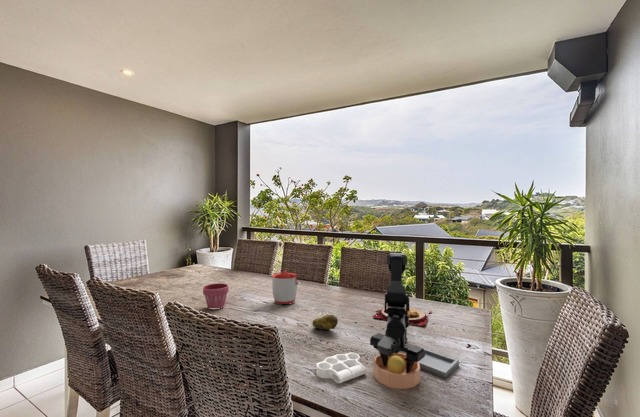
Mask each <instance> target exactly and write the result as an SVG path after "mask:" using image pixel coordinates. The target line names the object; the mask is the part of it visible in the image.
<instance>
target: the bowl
mask: <svg viewBox="0 0 640 417" xmlns="http://www.w3.org/2000/svg"><path fill="white" fill-rule="evenodd" d="M392 356H399V357H401V358H402V359H403V360H404V362H405V370H404V372H403V373H402V374H398V373H391V372H390V370H389V369H388V363H387V366H386V367H385V366H384V364H383V361H382V358H381V355H380V353H379V354H376V355H375V356H374V357H373V362H372V363H373V364H372V365H373V366H372V369H373V370H372V371H373V372H372V373H373V377H374V378H375V380H376V381H377V382H378V383H379V384H382V385H384V386H386V387H387V388H391V389H398V390H399V389H400V390H405V389H411V388H415V387H417V385H418V384H420V383H421V369H420V363H419V362H415V363H414V365H413V367H412V369H411V372H410V373H406V361H405V358H407V357H406V353H405V352H398V353H397V354H396V353H393V355H392ZM392 356H388V360H389V359H390V358H391V357H392Z"/></svg>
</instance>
